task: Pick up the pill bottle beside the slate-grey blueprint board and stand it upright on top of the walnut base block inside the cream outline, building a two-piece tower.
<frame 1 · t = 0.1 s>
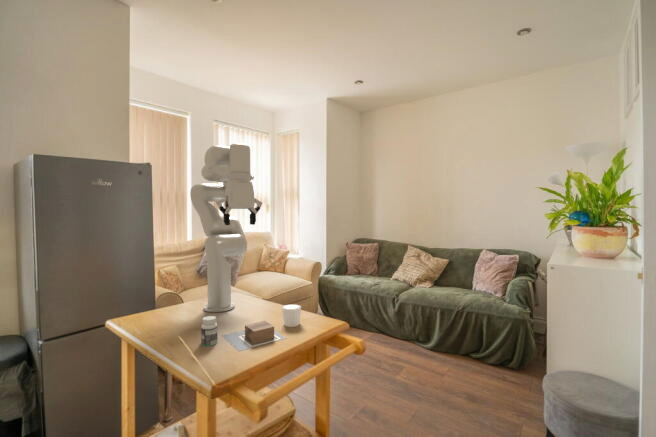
hand: (240, 224, 117), 37 cm above the table, tool pointing down, fingers open, 9 cm apart
pill bottle: (209, 345, 99), on the table
walnut base block: (259, 338, 103), point 1 cm above the table, touching blueprint board
white cylinder: (291, 326, 116), on the table
blueprint board: (253, 338, 104), on the table
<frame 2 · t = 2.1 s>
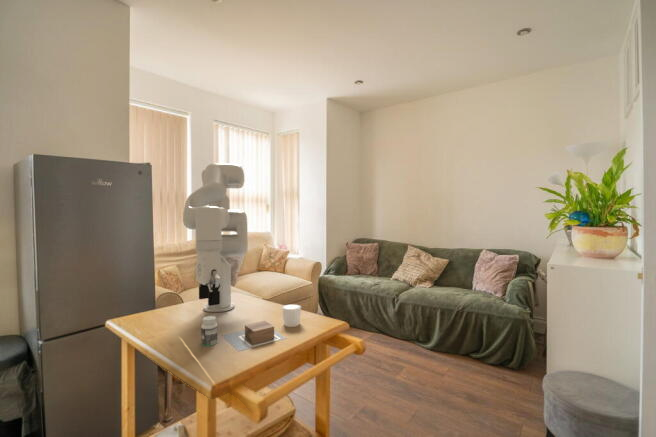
hand: (209, 301, 98), 14 cm above the table, tool pointing down, fingers open, 9 cm apart
nothing on the table moved.
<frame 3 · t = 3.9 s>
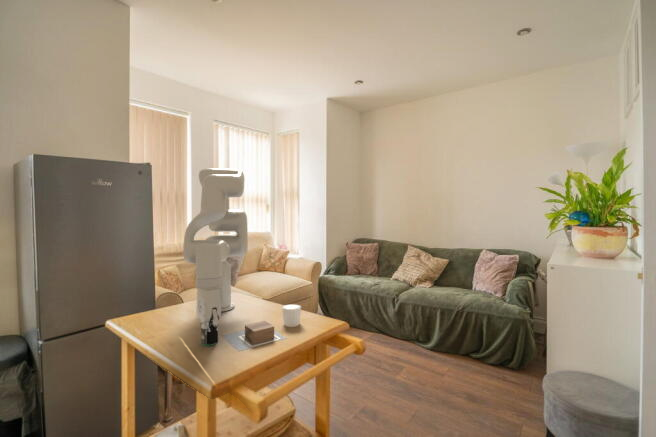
hand: (209, 340, 99), 1 cm above the table, tool pointing down, fingers closed on pill bottle, 4 cm apart
pill bottle: (209, 345, 99), on the table, touching gripper
everything else where it was.
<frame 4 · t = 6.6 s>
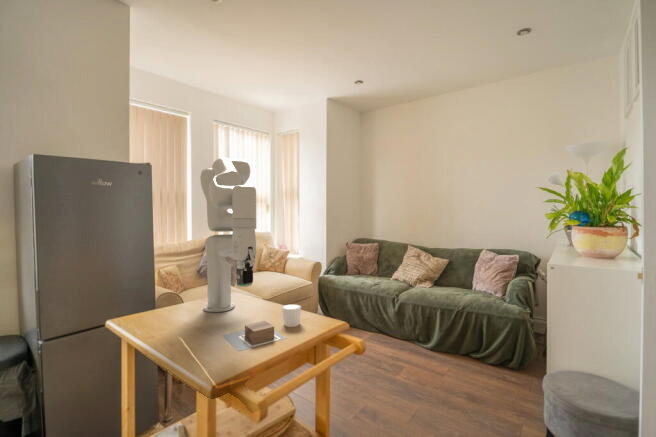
hand: (244, 281, 101), 19 cm above the table, tool pointing down, fingers closed on pill bottle, 4 cm apart
pill bottle: (244, 286, 101), point 18 cm above the table, touching gripper
everything else where it was.
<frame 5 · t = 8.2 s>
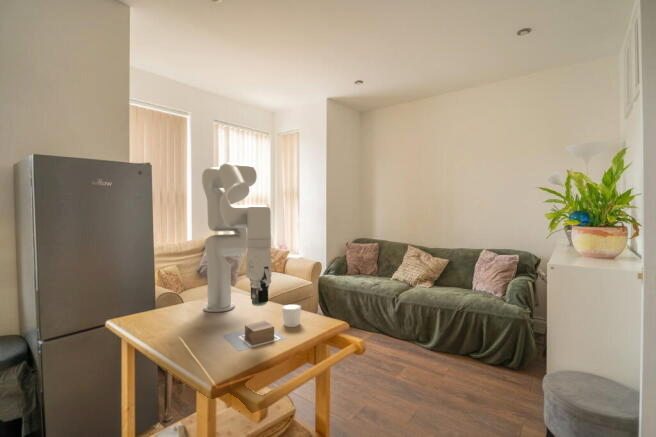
hand: (259, 299, 102), 13 cm above the table, tool pointing down, fingers closed on pill bottle, 4 cm apart
pill bottle: (259, 304, 102), point 11 cm above the table, touching gripper
everything else where it was.
when the fingers open (7 cm above the table, at t = 9.6 s): pill bottle drops 1 cm, resting on walnut base block.
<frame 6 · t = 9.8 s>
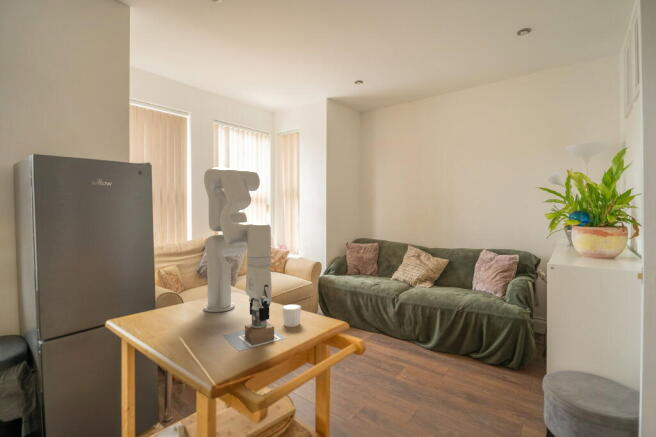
hand: (259, 316, 103), 8 cm above the table, tool pointing down, fingers open, 6 cm apart
pill bottle: (259, 326, 103), point 4 cm above the table, touching walnut base block
walnut base block: (259, 338, 103), point 1 cm above the table, touching blueprint board, pill bottle
everything else where it was.
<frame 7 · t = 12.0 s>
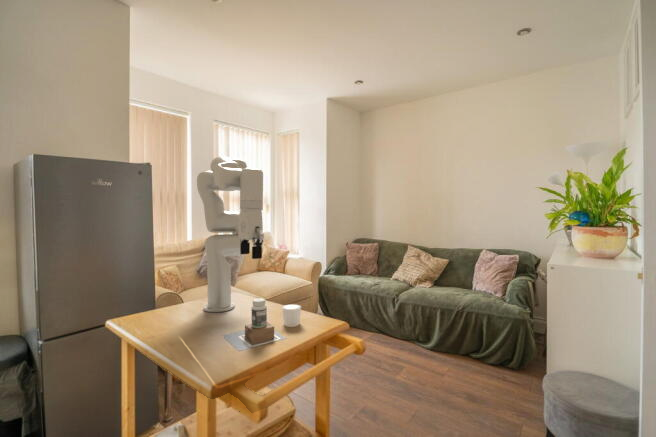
hand: (250, 256, 107), 26 cm above the table, tool pointing down, fingers open, 9 cm apart
nothing on the table moved.
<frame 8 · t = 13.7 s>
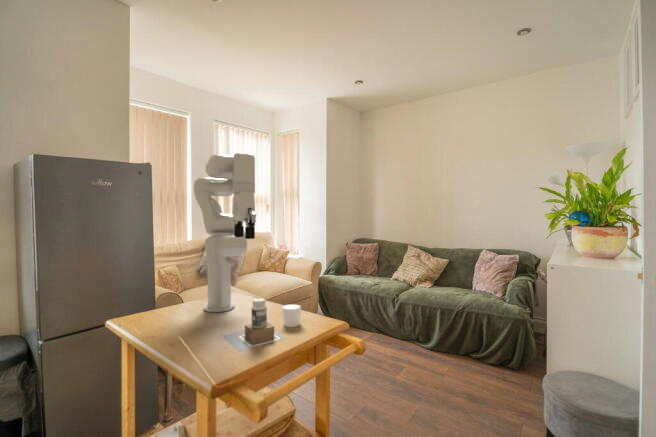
hand: (244, 237, 112), 32 cm above the table, tool pointing down, fingers open, 9 cm apart
nothing on the table moved.
at the end: pill bottle 0.1 cm off-centre on the walnut base block, point 3.8 cm above the walnut base block's base; pill bottle tilted 0°; the gripper is holding nothing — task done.
